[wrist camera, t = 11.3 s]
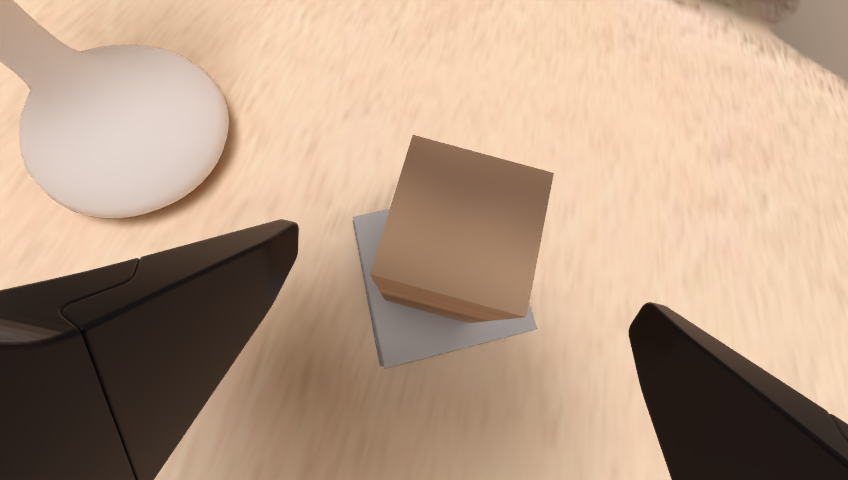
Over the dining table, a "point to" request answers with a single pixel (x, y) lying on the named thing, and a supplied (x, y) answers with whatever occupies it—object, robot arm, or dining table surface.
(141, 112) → the flower in vase
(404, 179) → the walnut post
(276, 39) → the dining table surface
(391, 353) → the upper grey slab
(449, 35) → the dining table surface
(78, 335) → the robot arm
